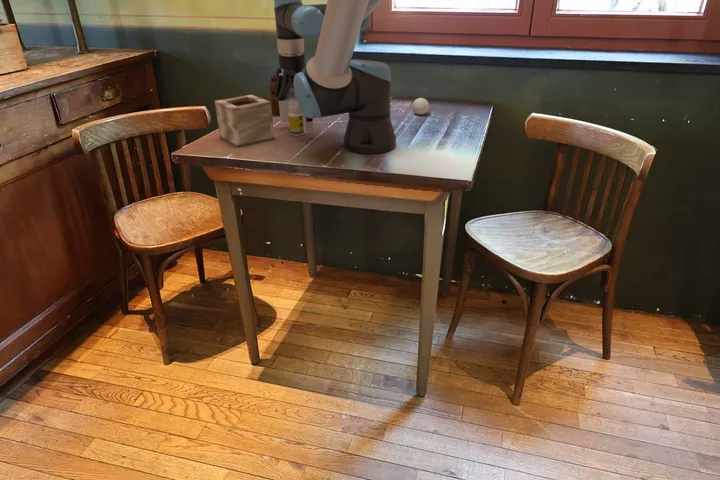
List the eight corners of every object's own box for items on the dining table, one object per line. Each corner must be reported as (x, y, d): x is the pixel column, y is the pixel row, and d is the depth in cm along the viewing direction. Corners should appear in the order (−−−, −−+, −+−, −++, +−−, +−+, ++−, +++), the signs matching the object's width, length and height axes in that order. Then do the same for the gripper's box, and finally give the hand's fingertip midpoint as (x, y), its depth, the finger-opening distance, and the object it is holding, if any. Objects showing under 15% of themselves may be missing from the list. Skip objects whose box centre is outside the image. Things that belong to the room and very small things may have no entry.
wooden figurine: (291, 112, 179) (287, 68, 172) (286, 116, 174) (282, 71, 167) (272, 111, 180) (268, 67, 173) (267, 116, 175) (262, 70, 168)
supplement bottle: (302, 136, 155) (300, 108, 151) (287, 135, 156) (285, 108, 152) (306, 131, 159) (305, 104, 155) (292, 131, 160) (290, 104, 156)
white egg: (415, 111, 178) (415, 95, 176) (430, 113, 176) (431, 96, 173) (407, 117, 172) (407, 100, 170) (423, 119, 170) (424, 102, 167)
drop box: (274, 138, 153) (270, 102, 148) (237, 147, 147) (232, 109, 142) (255, 129, 162) (251, 94, 156) (220, 137, 155) (214, 100, 150)
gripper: (327, 58, 140) (329, 134, 150) (280, 46, 157) (285, 115, 167) (303, 61, 136) (308, 139, 146) (258, 49, 153) (265, 119, 163)
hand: (296, 126), depth 157 cm, fingers open, 13 cm apart
